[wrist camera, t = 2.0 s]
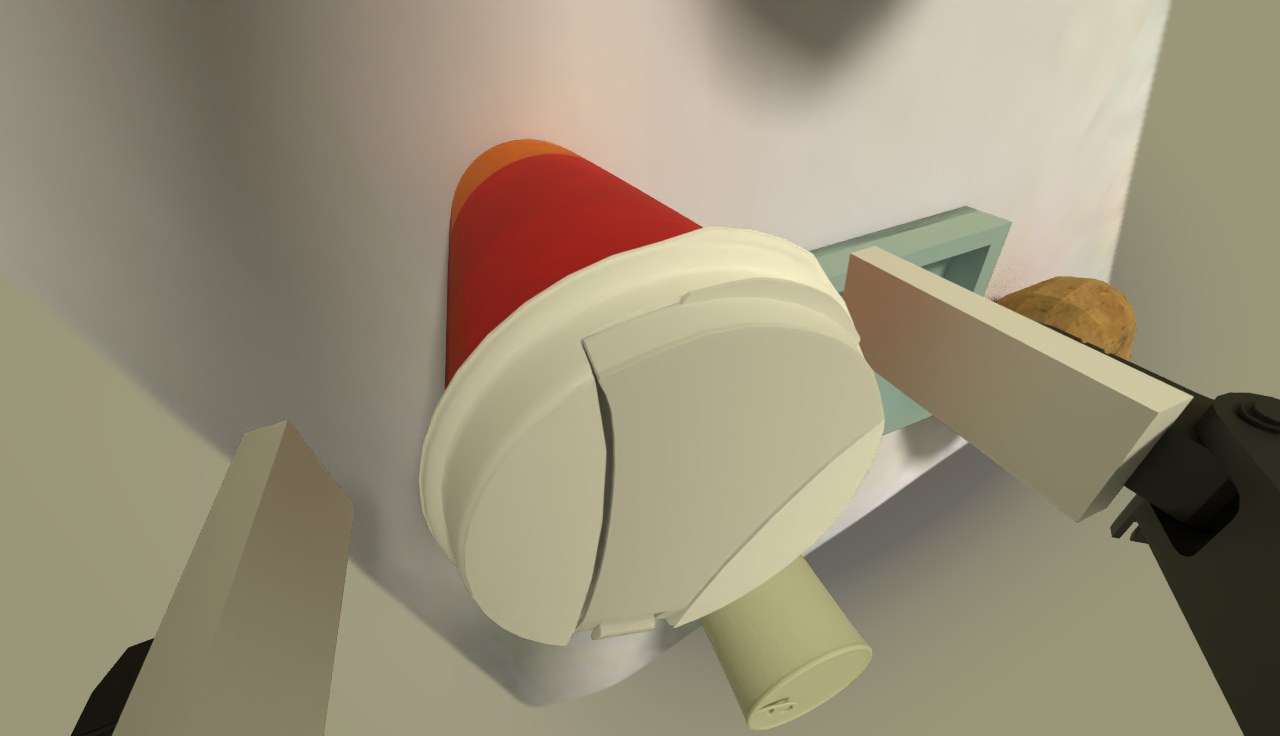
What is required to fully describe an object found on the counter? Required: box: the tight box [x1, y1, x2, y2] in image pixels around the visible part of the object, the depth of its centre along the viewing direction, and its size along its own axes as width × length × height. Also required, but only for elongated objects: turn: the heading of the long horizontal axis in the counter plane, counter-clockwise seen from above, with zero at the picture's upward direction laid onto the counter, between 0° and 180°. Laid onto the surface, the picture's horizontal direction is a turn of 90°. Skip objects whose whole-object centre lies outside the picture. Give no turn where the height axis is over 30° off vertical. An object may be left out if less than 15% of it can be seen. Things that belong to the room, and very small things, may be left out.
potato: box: [996, 277, 1136, 361], centre depth 32 cm, size 10×14×8 cm
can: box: [699, 554, 872, 730], centre depth 34 cm, size 9×9×12 cm
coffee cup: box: [418, 139, 885, 646], centre depth 13 cm, size 8×8×15 cm
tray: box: [809, 206, 1012, 436], centre depth 29 cm, size 14×13×3 cm
